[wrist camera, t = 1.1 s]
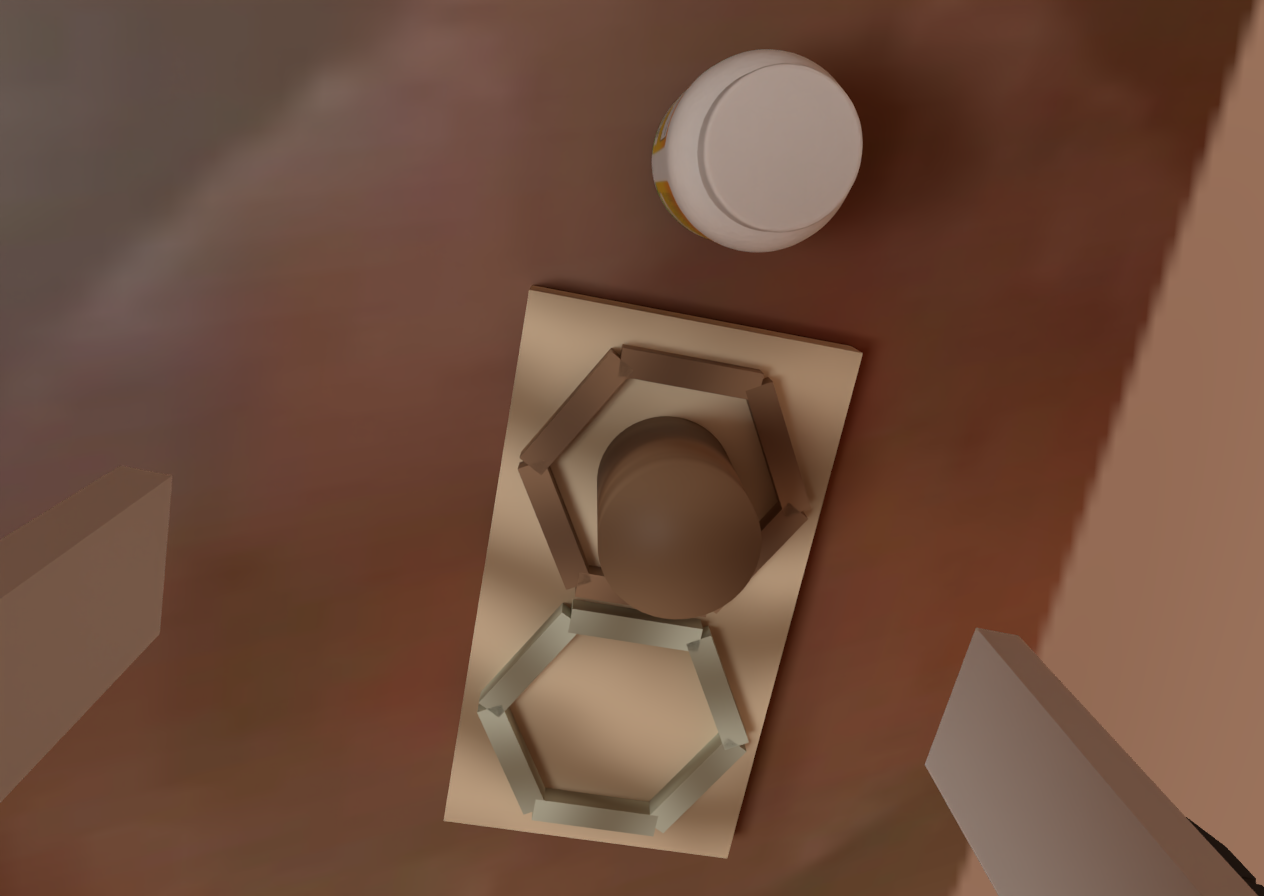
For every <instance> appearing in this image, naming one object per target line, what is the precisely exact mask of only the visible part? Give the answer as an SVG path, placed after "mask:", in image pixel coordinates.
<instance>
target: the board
mask: <svg viewBox="0 0 1264 896" xmlns="http://www.w3.org/2000/svg"><path fill="white" fill-rule="evenodd" d="M862 355H863V353H862V352H860V351H858V350H857V349H855V348H854V347H852V346H848V345H843V344H838V343H833V342H828V341H822V340H817V339H812V338H807V337H801V336H796V335H791V334H786V333H780V332H775V331H770V330H765V329H759V328H754V327H749V326H744V325H738V324H733V323H728V322H723V321H718V320H712V319H707V318H702V317H697V316H691V315H686V314H681V313H676V312H670V311H665V310H660V309H655V308H649V307H644V306H639V305H634V304H629V303H623V302H618V301H613V300H608V299H602V298H597V297H592V296H587V295H581V294H576V293H571V292H566V291H560V290H555V289H550V288H545V287H539V286H534V285H532V286H531V288H530V289H529V295H528V301H527V307H526V313H525V320H524V326H523V332H522V338H521V344H520V351H519V357H518V363H517V369H516V375H515V382H514V388H513V394H512V400H511V406H510V413H509V419H508V425H507V431H506V437H505V444H504V450H503V456H502V462H501V468H500V475H499V481H498V487H497V493H496V499H495V506H494V512H493V518H492V524H491V530H490V537H489V543H488V549H487V555H486V561H485V568H484V574H483V580H482V586H481V592H480V599H479V605H478V611H477V617H476V623H475V630H474V636H473V642H472V648H471V654H470V661H469V667H468V673H467V679H466V685H465V692H464V698H463V704H462V710H461V716H460V723H459V729H458V735H457V741H456V747H455V754H454V760H453V766H452V772H451V778H450V785H449V791H448V797H447V803H446V809H445V816H444V821H449V822H456V823H464V824H471V825H479V826H487V827H494V828H502V829H509V830H517V831H524V832H532V833H539V834H547V835H554V836H562V837H569V838H577V839H584V840H592V841H599V842H607V843H614V844H622V845H629V846H637V847H644V848H652V849H659V850H667V851H675V852H682V853H690V854H697V855H705V856H712V857H720V858H727V857H728V853H729V850H730V846H731V842H732V838H733V835H734V831H735V827H736V824H737V820H738V816H739V812H740V809H741V805H742V801H743V798H744V794H745V790H746V786H747V783H748V779H749V775H750V772H751V768H752V764H753V760H754V757H755V753H756V749H757V745H758V742H759V738H760V734H761V731H762V727H763V723H764V719H765V716H766V712H767V708H768V705H769V701H770V697H771V693H772V690H773V686H774V682H775V679H776V675H777V671H778V667H779V664H780V660H781V656H782V652H783V649H784V645H785V641H786V638H787V634H788V630H789V626H790V623H791V619H792V615H793V612H794V608H795V604H796V600H797V597H798V593H799V589H800V586H801V582H802V578H803V574H804V571H805V567H806V563H807V559H808V556H809V552H810V548H811V545H812V541H813V537H814V533H815V530H816V526H817V522H818V519H819V515H820V511H821V507H822V504H823V500H824V496H825V493H826V489H827V485H828V481H829V478H830V474H831V470H832V467H833V463H834V459H835V455H836V452H837V448H838V444H839V440H840V437H841V433H842V429H843V426H844V422H845V418H846V414H847V411H848V407H849V403H850V400H851V396H852V392H853V388H854V385H855V381H856V377H857V374H858V370H859V366H860V362H861V359H862ZM660 416H672V417H679V418H683V419H687V420H690V421H693V422H695V423H697V424H699V425H701V426H702V427H704V428H705V429H707V430H708V431H709V432H711V433H712V434H713V435H714V436H715V437H716V438H717V439H718V441H719V442H720V443H721V445H722V446H723V448H724V450H725V451H726V453H727V455H728V457H729V459H730V461H731V463H732V465H733V467H734V469H735V471H736V473H737V475H738V477H739V479H740V481H741V483H742V485H743V487H744V489H745V491H746V493H747V495H748V497H749V499H750V501H751V503H752V505H753V507H754V509H755V512H756V514H757V517H758V520H759V524H760V528H761V537H762V542H761V552H760V558H759V561H758V564H757V567H756V569H755V572H754V574H753V576H752V578H751V579H750V581H749V582H748V584H747V585H746V586H745V588H744V589H743V590H742V591H741V592H740V593H739V594H738V595H737V596H736V597H735V598H734V599H733V600H732V601H730V602H729V603H727V604H726V605H724V606H723V607H721V608H719V609H717V610H716V611H713V612H711V613H708V614H706V615H703V616H699V617H695V618H689V619H664V618H659V617H655V616H651V615H648V614H646V613H643V612H641V611H639V610H637V609H635V608H633V607H632V606H630V605H629V604H627V603H626V602H625V601H624V600H623V599H621V598H620V597H619V596H618V595H617V594H616V593H615V591H614V590H613V589H612V588H611V586H610V585H609V583H608V582H607V580H606V578H605V576H604V574H603V572H602V569H601V566H600V562H599V557H598V540H597V474H598V468H599V464H600V461H601V459H602V456H603V454H604V452H605V451H606V449H607V447H608V446H609V444H610V443H611V442H612V441H613V439H614V438H615V437H616V436H617V435H618V434H620V433H621V432H622V431H623V430H625V429H626V428H628V427H629V426H631V425H633V424H635V423H637V422H639V421H642V420H645V419H649V418H653V417H660Z"/></svg>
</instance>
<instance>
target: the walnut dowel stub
mask: <svg viewBox="0 0 1264 896" xmlns="http://www.w3.org/2000/svg"><path fill="white" fill-rule="evenodd" d="M597 540H598V557H599V562H600V566H601V569H602V572H603V574H604V576H605V578H606V580H607V582H608V583H609V585H610V586H611V588H612V589H613V590H614V591H615V593H616V594H617V595H618V596H619V597H620V598H621V599H623V600H624V601H625V602H626V603H627V604H629V605H630V606H632V607H633V608H635V609H637V610H639V611H641V612H643V613H646V614H648V615H651V616H655V617H659V618H664V619H689V618H695V617H699V616H703V615H706V614H708V613H711V612H713V611H716V610H717V609H719V608H721V607H723V606H724V605H726V604H727V603H729V602H730V601H732V600H733V599H734V598H735V597H736V596H737V595H738V594H739V593H740V592H741V591H742V590H743V589H744V588H745V586H746V585H747V584H748V582H749V581H750V579H751V578H752V576H753V574H754V572H755V569H756V567H757V564H758V561H759V558H760V552H761V542H762V537H761V528H760V524H759V520H758V517H757V514H756V512H755V509H754V507H753V505H752V503H751V501H750V499H749V497H748V495H747V493H746V491H745V489H744V487H743V485H742V483H741V481H740V479H739V477H738V475H737V473H736V471H735V469H734V467H733V465H732V463H731V461H730V459H729V457H728V455H727V453H726V451H725V450H724V448H723V446H722V445H721V443H720V442H719V441H718V439H717V438H716V437H715V436H714V435H713V434H712V433H711V432H709V431H708V430H707V429H705V428H704V427H702V426H701V425H699V424H697V423H695V422H693V421H690V420H687V419H683V418H679V417H672V416H660V417H653V418H649V419H645V420H642V421H639V422H637V423H635V424H633V425H631V426H629V427H628V428H626V429H625V430H623V431H622V432H621V433H620V434H618V435H617V436H616V437H615V438H614V439H613V441H612V442H611V443H610V444H609V446H608V447H607V449H606V451H605V452H604V454H603V456H602V459H601V461H600V464H599V468H598V474H597Z"/></svg>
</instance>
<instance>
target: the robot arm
mask: <svg viewBox="0 0 1264 896" xmlns="http://www.w3.org/2000/svg"><path fill="white" fill-rule="evenodd" d="M171 487H172V475H168V474H162V473H157V472H152V471H147V470H141V469H136V468H131V467H126V466H119V467H117V468H116V469H114V470H113V471H111V472H109V473H108V474H106V475H104V476H103V477H101V478H100V479H98V480H96V481H95V482H93V483H91V484H90V485H88V486H87V487H85V488H83V489H82V490H80V491H78V492H77V493H75V494H74V495H72V496H70V497H69V498H67V499H65V500H64V501H62V502H61V503H59V504H57V505H56V506H54V507H53V508H51V509H49V510H48V511H46V512H44V513H43V514H41V515H40V516H38V517H36V518H35V519H33V520H31V521H30V522H28V523H27V524H25V525H23V526H22V527H20V528H18V529H17V530H15V531H14V532H12V533H10V534H9V535H7V536H5V537H4V538H2V539H1V540H0V802H1V801H2V800H3V799H4V798H5V797H6V796H7V795H8V794H9V793H10V792H11V791H12V790H13V789H14V788H15V787H16V785H17V784H18V783H19V782H20V781H21V780H22V779H23V778H24V777H25V776H26V775H27V774H28V773H29V772H30V771H31V770H32V769H33V767H34V766H35V765H36V764H37V763H38V762H39V761H40V760H41V759H42V758H43V757H44V756H45V755H46V754H47V753H48V752H49V751H50V749H51V748H52V747H53V746H54V745H55V744H56V743H57V742H58V741H59V740H60V739H61V738H62V737H63V736H64V735H65V734H66V732H67V731H68V730H69V729H70V728H71V727H72V726H73V725H74V724H75V723H76V722H77V721H78V720H79V719H80V718H81V717H82V716H83V714H84V713H85V712H86V711H87V710H88V709H89V708H90V707H91V706H92V705H93V704H94V703H95V702H96V701H97V700H98V699H99V698H100V696H101V695H102V694H103V693H104V692H105V691H106V690H107V689H108V688H109V687H110V686H111V685H112V684H113V683H114V682H115V681H116V679H117V678H118V677H119V676H120V675H121V674H122V673H123V672H124V671H125V670H126V669H127V668H128V667H129V666H130V665H131V664H132V663H133V661H134V660H135V659H136V658H137V657H138V656H139V655H140V654H141V653H142V652H143V651H144V650H145V649H146V648H147V647H148V646H149V645H150V643H151V642H152V641H153V640H154V639H155V638H156V637H157V636H158V635H159V634H160V624H161V611H162V599H163V587H164V574H165V562H166V549H167V537H168V525H169V512H170V500H171ZM925 766H926V768H927V769H928V771H929V773H930V775H931V776H932V778H933V780H934V782H935V784H936V785H937V787H938V789H939V791H940V792H941V794H942V796H943V798H944V800H945V801H946V803H947V805H948V807H949V808H950V810H951V812H952V814H953V816H954V817H955V819H956V821H957V823H958V825H959V826H960V828H961V830H962V832H963V833H964V835H965V837H966V839H967V841H968V842H969V844H970V846H971V848H972V849H973V851H974V853H975V855H976V857H977V858H978V860H979V862H980V864H981V865H982V867H983V869H984V871H985V873H986V874H987V876H988V878H989V880H990V882H991V883H992V885H993V887H994V889H995V890H996V892H997V894H998V896H1264V887H1263V886H1262V885H1258V884H1256V878H1255V877H1254V876H1253V875H1252V874H1251V873H1250V872H1249V871H1248V870H1247V869H1246V868H1245V867H1244V866H1243V864H1242V863H1241V862H1240V861H1239V860H1238V859H1237V858H1236V857H1235V856H1234V855H1233V854H1232V853H1231V852H1230V851H1229V850H1228V848H1226V847H1225V846H1224V845H1223V844H1221V843H1220V842H1219V841H1217V840H1216V839H1215V838H1214V837H1212V836H1211V835H1209V834H1208V833H1207V832H1205V831H1204V830H1203V829H1201V828H1200V827H1199V826H1198V825H1196V824H1195V823H1194V822H1192V821H1191V820H1190V819H1188V818H1187V817H1185V816H1184V815H1183V814H1182V813H1181V812H1180V811H1179V809H1178V808H1177V807H1176V806H1175V805H1174V804H1173V803H1172V802H1171V801H1170V800H1169V799H1168V797H1167V796H1166V795H1165V794H1164V793H1163V792H1162V791H1161V790H1160V789H1159V788H1158V787H1157V786H1156V784H1155V783H1154V782H1153V781H1152V780H1151V779H1150V778H1149V777H1148V776H1147V775H1146V774H1145V772H1143V770H1142V769H1141V768H1140V767H1139V766H1138V765H1137V764H1136V763H1135V762H1134V761H1133V759H1132V758H1131V757H1130V756H1129V755H1128V754H1127V753H1126V752H1125V751H1124V750H1123V749H1122V748H1121V746H1120V745H1119V744H1118V743H1117V742H1116V741H1115V740H1114V739H1113V738H1112V737H1111V736H1110V734H1109V733H1108V732H1107V731H1106V730H1105V729H1104V728H1103V727H1102V726H1101V725H1100V724H1099V723H1098V721H1097V720H1096V719H1095V718H1094V717H1093V716H1092V715H1091V714H1090V713H1089V712H1088V711H1087V710H1086V708H1085V707H1084V706H1083V705H1082V704H1081V703H1080V702H1079V701H1078V700H1077V699H1076V698H1075V697H1074V695H1072V693H1071V692H1070V691H1069V690H1068V689H1067V688H1066V687H1065V686H1064V685H1063V684H1062V682H1061V681H1060V680H1059V679H1058V678H1057V677H1056V676H1055V675H1054V674H1053V673H1052V672H1051V671H1050V669H1049V668H1048V667H1047V666H1046V665H1045V664H1044V663H1043V662H1042V661H1041V660H1040V658H1039V657H1038V656H1037V655H1036V654H1035V653H1034V652H1033V651H1032V650H1031V649H1030V648H1029V647H1028V645H1027V644H1026V643H1025V642H1024V641H1023V640H1022V639H1021V638H1020V637H1019V636H1018V635H1012V634H1007V633H1002V632H997V631H991V630H986V629H981V628H976V629H975V632H974V635H973V637H972V640H971V643H970V645H969V648H968V651H967V653H966V656H965V659H964V661H963V664H962V667H961V669H960V672H959V675H958V677H957V680H956V683H955V685H954V688H953V691H952V693H951V696H950V699H949V701H948V704H947V707H946V709H945V712H944V715H943V717H942V720H941V723H940V726H939V728H938V731H937V734H936V736H935V739H934V742H933V744H932V747H931V750H930V752H929V755H928V758H927V760H926V763H925Z"/></svg>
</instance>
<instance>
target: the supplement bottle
mask: <svg viewBox="0 0 1264 896" xmlns="http://www.w3.org/2000/svg"><path fill="white" fill-rule="evenodd" d="M862 149H863V139H862V129H861V124H860V120H859V117H858V114H857V112H856V109H855V107H854V105H853V103H852V101H851V100H850V98H849V97H848V95H847V94H846V92H845V91H844V90H843V89H842V88H841V86H840V85H839V84H838V83H837V82H836V80H835V79H834V78H833V77H832V76H831V75H830V74H829V73H828V72H827V71H826V70H824V69H823V68H822V67H821V66H819V65H818V64H816V63H815V62H813V61H811V60H809V59H807V58H805V57H803V56H800V55H798V54H795V53H792V52H787V51H782V50H774V49H759V50H751V51H747V52H743V53H740V54H737V55H734V56H731V57H729V58H727V59H725V60H723V61H721V62H719V63H718V64H716V65H714V66H712V67H711V68H709V69H708V70H706V71H705V72H704V73H703V74H701V75H700V76H699V77H698V78H697V79H696V80H695V81H694V82H693V83H692V84H691V85H690V86H689V87H688V89H687V90H686V91H685V92H684V93H683V94H682V95H681V96H680V97H679V98H678V99H677V100H676V101H675V102H674V104H673V105H672V106H671V107H670V109H669V110H668V112H667V113H666V115H665V116H664V118H663V120H662V121H661V123H660V126H659V128H658V131H657V133H656V137H655V140H654V145H653V151H652V172H653V178H654V183H655V186H656V189H657V192H658V194H659V196H660V198H661V200H662V202H663V204H664V205H665V207H666V209H667V210H668V211H669V212H670V214H671V215H672V216H673V217H674V218H675V219H676V220H677V221H678V222H679V223H680V224H681V225H683V226H684V227H685V228H687V229H688V230H690V231H691V232H693V233H695V234H697V235H699V236H701V237H704V238H706V239H709V240H711V241H713V242H715V243H717V244H720V245H722V246H725V247H728V248H731V249H735V250H739V251H745V252H771V251H777V250H781V249H784V248H788V247H790V246H793V245H795V244H797V243H799V242H801V241H803V240H805V239H807V238H808V237H810V236H812V235H813V234H815V233H816V232H817V231H819V230H820V229H821V228H822V227H823V226H825V225H826V224H827V223H828V222H829V221H830V219H831V218H832V217H833V216H834V215H835V214H836V212H837V211H838V209H839V208H840V206H841V205H842V203H843V202H844V200H845V198H846V197H847V195H848V193H849V191H850V189H851V187H852V185H853V183H854V181H855V179H856V177H857V174H858V171H859V168H860V164H861V157H862Z"/></svg>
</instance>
